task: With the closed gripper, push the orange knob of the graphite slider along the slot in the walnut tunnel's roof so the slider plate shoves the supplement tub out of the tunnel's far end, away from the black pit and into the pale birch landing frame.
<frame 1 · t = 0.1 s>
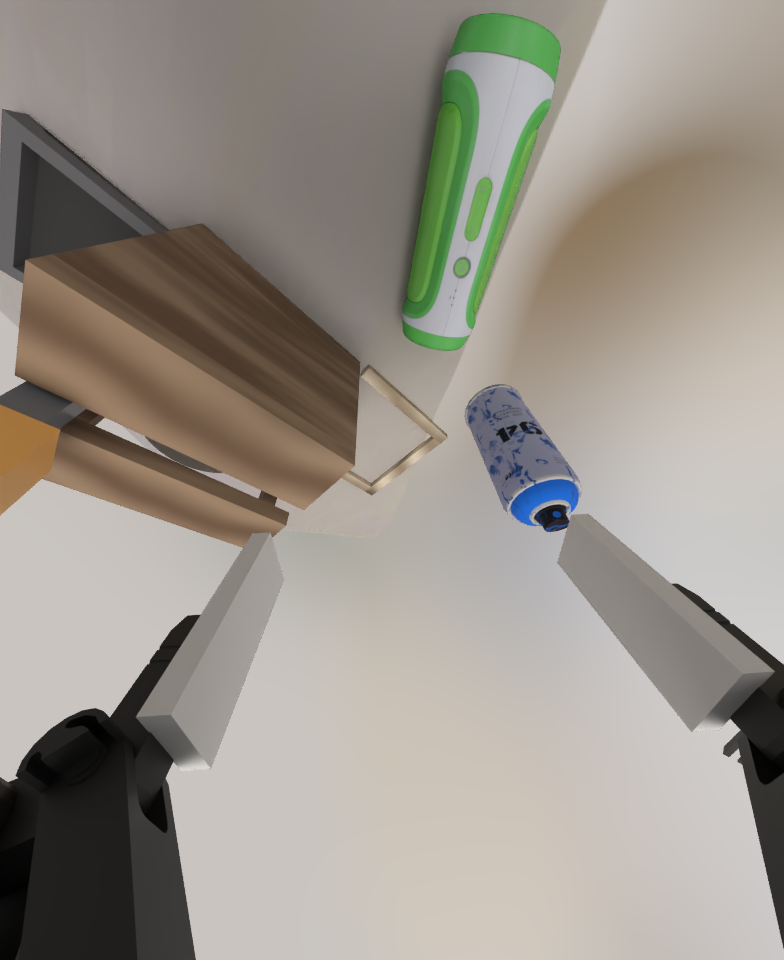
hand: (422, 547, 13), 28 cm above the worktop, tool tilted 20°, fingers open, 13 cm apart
slider: (107, 357, 21), point 13 cm above the worktop, slide at 0.0 cm
aerosol can: (492, 409, 41), on the worktop
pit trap: (97, 251, 26), on the worktop
supplement tub: (252, 359, 34), on the worktop
walnut tunnel: (255, 363, 34), on the worktop
landing frame: (368, 442, 43), on the worktop
speaker: (451, 223, 26), on the worktop
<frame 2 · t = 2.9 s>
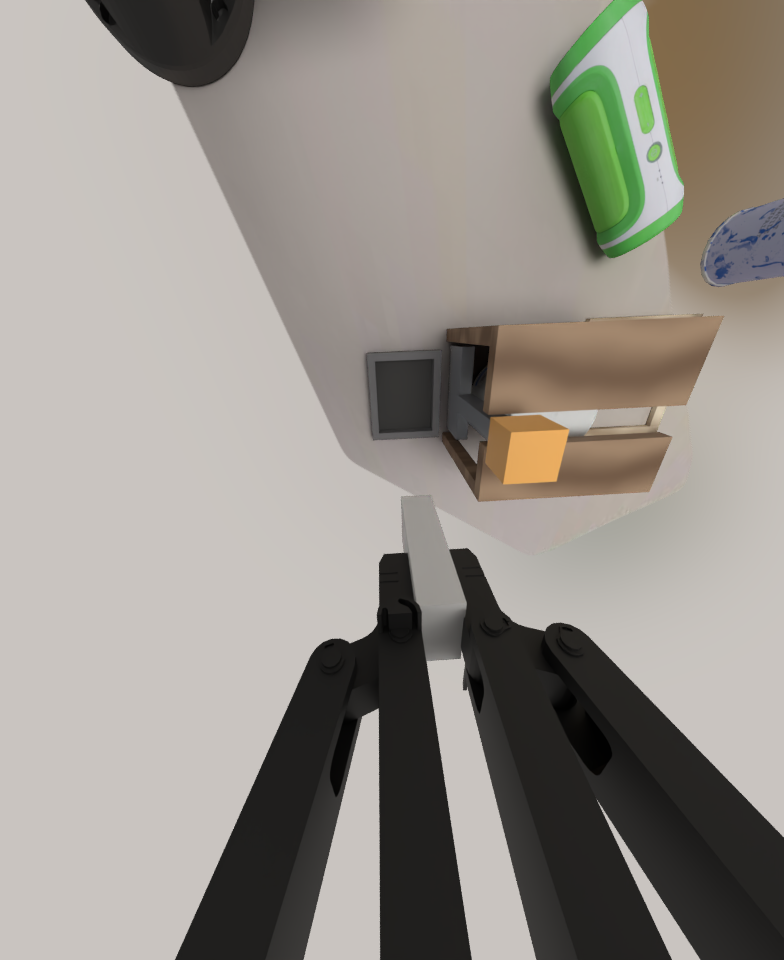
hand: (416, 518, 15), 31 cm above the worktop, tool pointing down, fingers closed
slider: (480, 407, 31), point 13 cm above the worktop, slide at 0.0 cm
aerosol can: (732, 250, 36), on the worktop
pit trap: (404, 395, 42), on the worktop
supplement tub: (500, 390, 43), on the worktop
walnut tunnel: (504, 390, 43), on the worktop
landing frame: (620, 385, 43), on the worktop
speaker: (591, 168, 32), on the worktop
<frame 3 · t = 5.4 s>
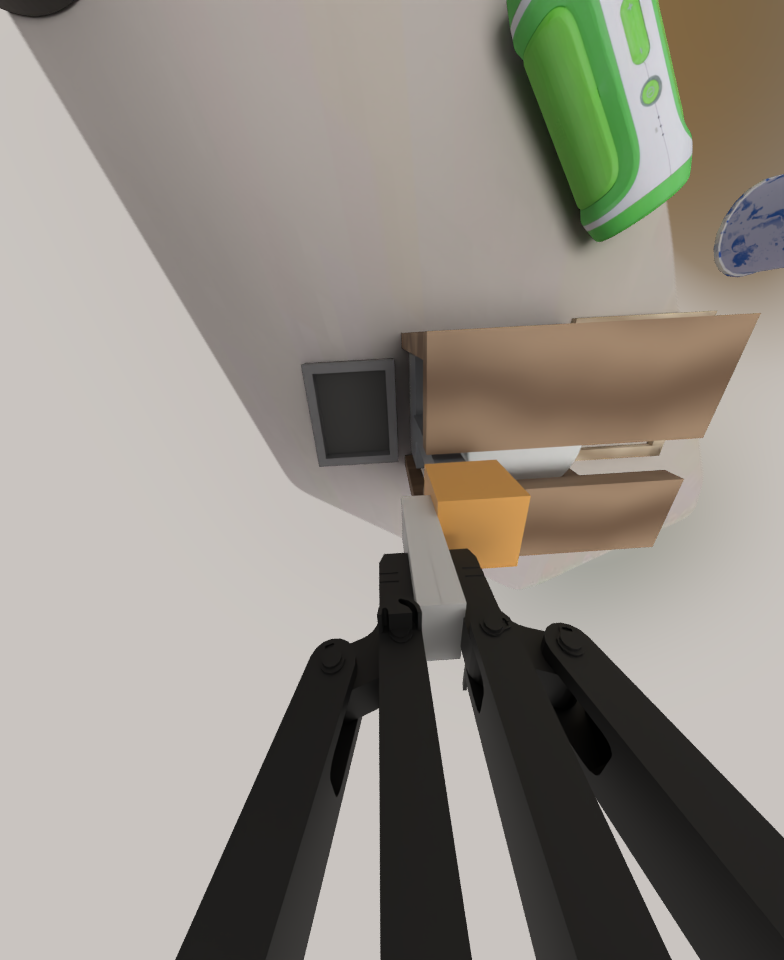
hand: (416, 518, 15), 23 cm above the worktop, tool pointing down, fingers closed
slider: (433, 436, 24), point 13 cm above the worktop, slide at 0.3 cm, touching gripper
aerosol can: (753, 230, 29), on the worktop
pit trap: (355, 413, 35), on the worktop
supplement tub: (471, 405, 36), on the worktop
walnut tunnel: (475, 406, 36), on the worktop
landing frame: (616, 397, 36), on the worktop
speaker: (570, 127, 25), on the worktop
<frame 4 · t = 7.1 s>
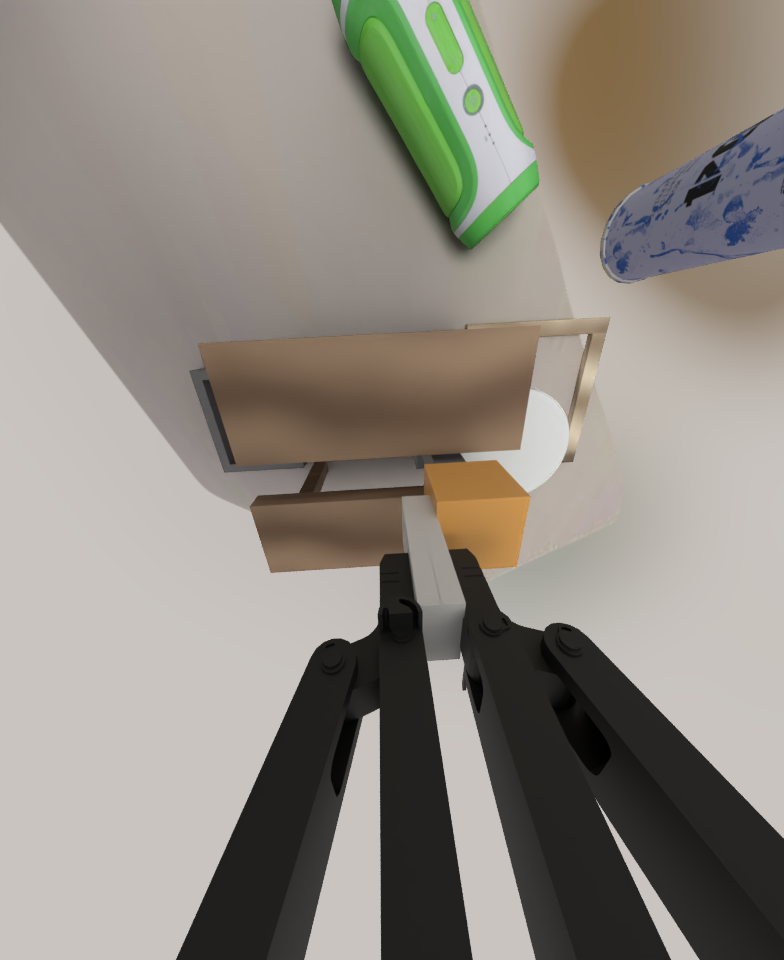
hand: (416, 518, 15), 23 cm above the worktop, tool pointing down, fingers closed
slider: (434, 436, 24), point 13 cm above the worktop, slide at 12.3 cm, touching gripper, supplement tub
aerosol can: (638, 236, 29), on the worktop
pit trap: (258, 418, 35), on the worktop
supplement tub: (461, 408, 36), on the worktop, touching slider
walnut tunnel: (380, 411, 35), on the worktop
landing frame: (522, 403, 36), on the worktop
speaker: (434, 135, 25), on the worktop
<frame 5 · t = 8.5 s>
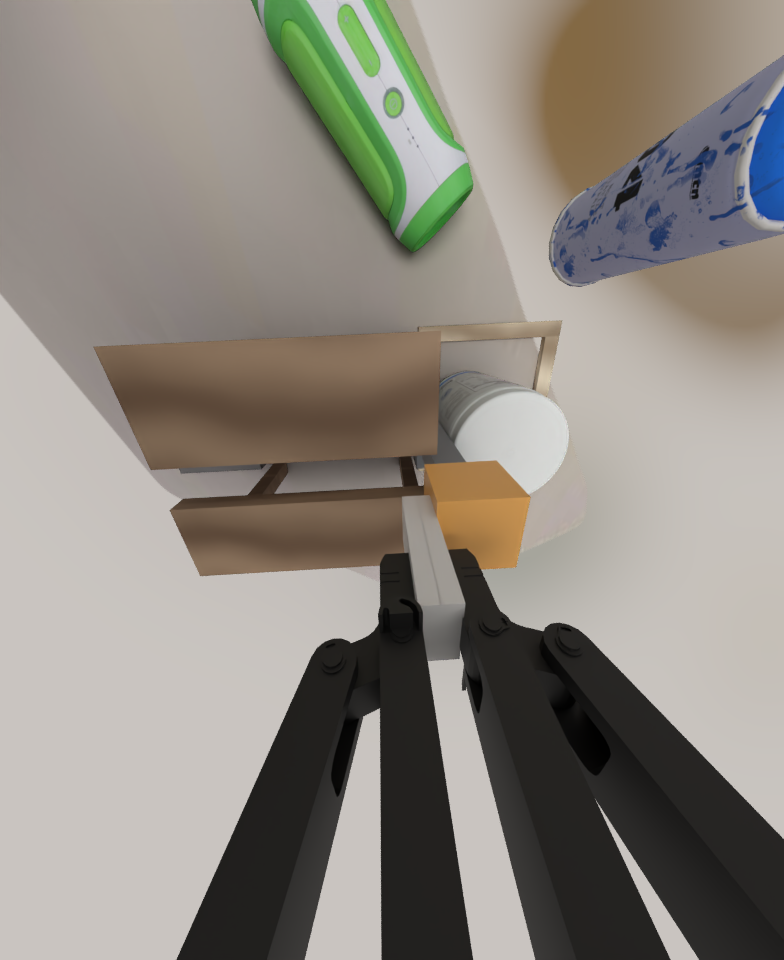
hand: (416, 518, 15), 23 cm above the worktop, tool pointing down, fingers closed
slider: (434, 436, 24), point 13 cm above the worktop, slide at 17.6 cm, touching gripper, supplement tub
aerosol can: (587, 240, 29), on the worktop
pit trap: (214, 420, 35), on the worktop
supplement tub: (461, 409, 36), on the worktop, touching slider
walnut tunnel: (336, 413, 35), on the worktop
landing frame: (480, 406, 36), on the worktop
speaker: (374, 137, 25), on the worktop
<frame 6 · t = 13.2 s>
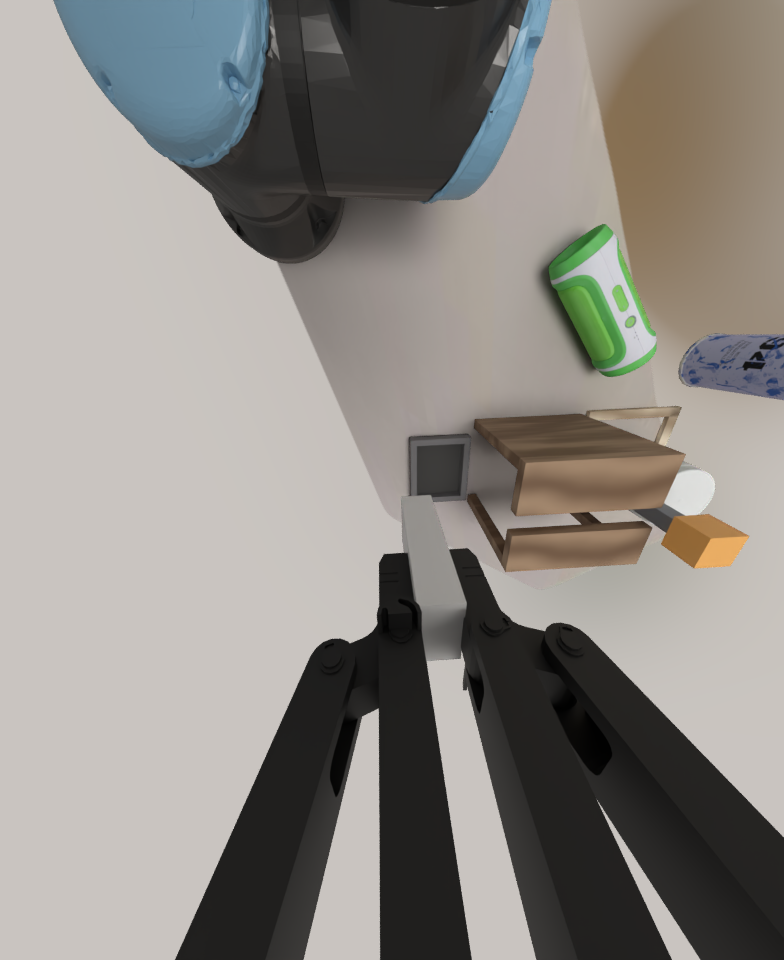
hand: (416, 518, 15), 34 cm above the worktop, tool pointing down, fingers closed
slider: (630, 490, 40), point 13 cm above the worktop, slide at 17.8 cm, touching supplement tub
aerosol can: (703, 361, 46), on the worktop
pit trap: (437, 467, 52), on the worktop
supplement tub: (603, 459, 53), on the worktop, touching slider
walnut tunnel: (519, 463, 52), on the worktop
landing frame: (615, 457, 52), on the worktop
speaker: (584, 311, 42), on the worktop
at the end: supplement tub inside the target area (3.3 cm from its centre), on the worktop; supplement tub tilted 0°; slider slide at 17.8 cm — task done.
